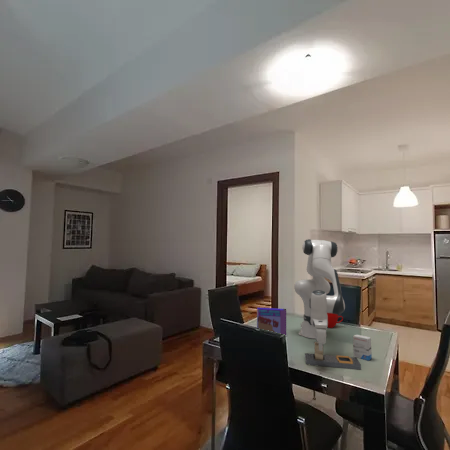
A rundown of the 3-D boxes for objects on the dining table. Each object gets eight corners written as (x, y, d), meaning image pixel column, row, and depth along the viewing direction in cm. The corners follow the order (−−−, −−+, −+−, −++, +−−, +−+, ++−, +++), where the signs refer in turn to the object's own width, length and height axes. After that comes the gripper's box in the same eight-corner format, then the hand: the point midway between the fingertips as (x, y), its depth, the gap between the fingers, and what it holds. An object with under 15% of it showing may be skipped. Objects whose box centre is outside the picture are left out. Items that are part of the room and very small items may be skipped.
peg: (314, 360, 161) (314, 341, 162) (322, 361, 160) (322, 342, 161) (315, 363, 157) (315, 344, 158) (323, 364, 156) (323, 344, 157)
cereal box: (256, 349, 177) (257, 308, 179) (257, 346, 182) (257, 307, 184) (286, 351, 175) (286, 310, 177) (285, 348, 180) (285, 308, 182)
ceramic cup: (345, 329, 223) (345, 316, 223) (321, 328, 225) (321, 315, 226) (341, 325, 235) (341, 312, 236) (319, 324, 238) (319, 311, 239)
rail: (304, 357, 165) (304, 352, 165) (356, 362, 160) (356, 356, 160) (306, 364, 155) (306, 359, 155) (360, 369, 150) (360, 364, 150)
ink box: (372, 358, 165) (371, 337, 166) (368, 361, 162) (368, 339, 163) (356, 354, 171) (356, 333, 172) (352, 356, 168) (352, 335, 169)
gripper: (311, 316, 171) (311, 341, 170) (315, 325, 151) (315, 353, 150) (322, 317, 170) (323, 342, 168) (328, 326, 150) (328, 354, 148)
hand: (319, 347), depth 159 cm, fingers open, 8 cm apart
